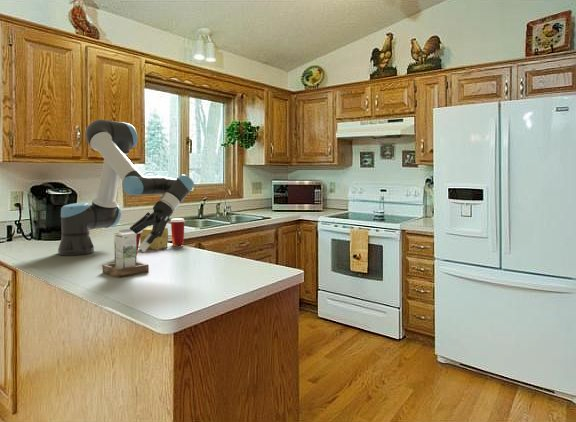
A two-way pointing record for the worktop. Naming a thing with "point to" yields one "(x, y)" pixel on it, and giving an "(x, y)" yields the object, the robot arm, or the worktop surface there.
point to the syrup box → (125, 249)
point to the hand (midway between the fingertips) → (132, 247)
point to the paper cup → (177, 231)
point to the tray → (125, 270)
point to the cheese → (158, 241)
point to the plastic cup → (136, 237)
